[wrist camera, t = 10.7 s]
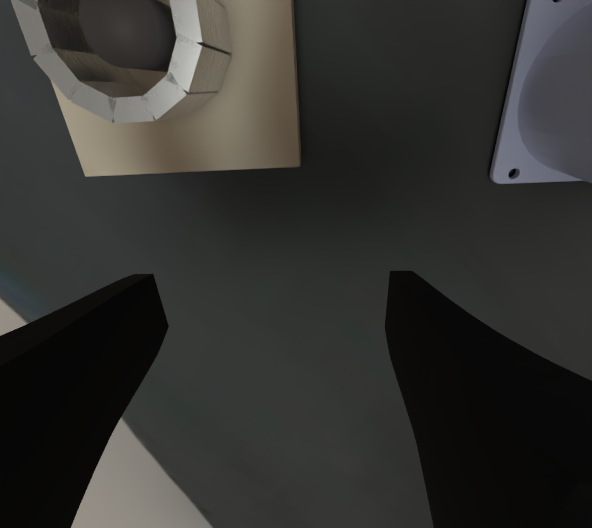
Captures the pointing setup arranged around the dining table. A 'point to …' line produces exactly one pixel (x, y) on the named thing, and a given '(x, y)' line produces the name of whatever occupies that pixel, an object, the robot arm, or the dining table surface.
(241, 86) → the post stand
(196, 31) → the steel ring
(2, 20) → the dining table surface
